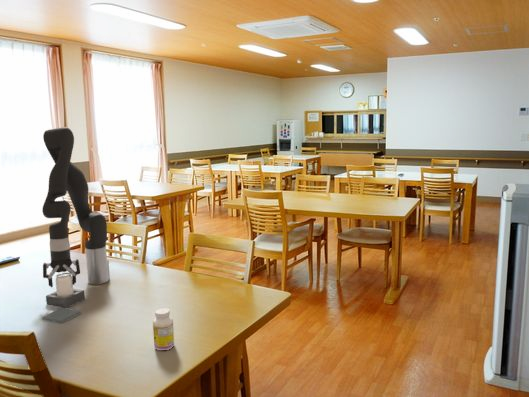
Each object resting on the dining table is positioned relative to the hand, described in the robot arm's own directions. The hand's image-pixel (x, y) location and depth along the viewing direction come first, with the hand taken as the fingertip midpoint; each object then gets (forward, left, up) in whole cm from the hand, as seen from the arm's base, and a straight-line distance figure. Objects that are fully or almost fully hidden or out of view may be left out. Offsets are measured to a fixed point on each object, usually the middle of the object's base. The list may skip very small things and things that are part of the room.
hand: (62, 285), depth 196 cm
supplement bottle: (+19, +64, -8) cm, 67 cm away
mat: (+12, +11, -7) cm, 17 cm away
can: (0, +1, -8) cm, 8 cm away
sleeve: (0, +1, -7) cm, 7 cm away
